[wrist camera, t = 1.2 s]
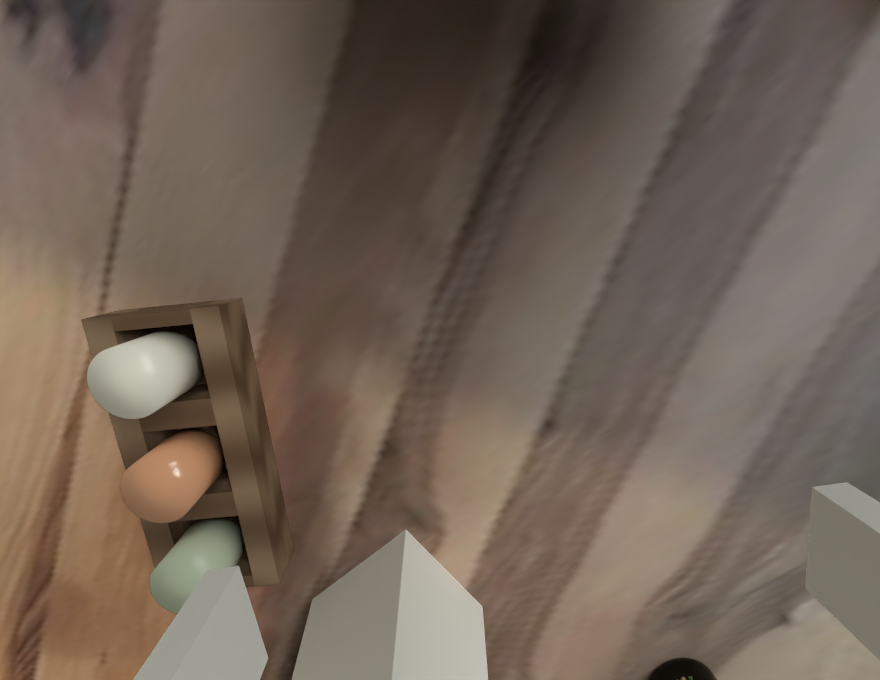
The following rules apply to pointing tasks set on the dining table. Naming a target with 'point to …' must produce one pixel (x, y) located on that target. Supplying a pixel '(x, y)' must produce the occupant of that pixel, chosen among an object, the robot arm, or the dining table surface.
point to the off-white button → (144, 373)
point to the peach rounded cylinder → (173, 475)
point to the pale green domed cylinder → (195, 560)
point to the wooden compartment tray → (216, 403)
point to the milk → (394, 622)
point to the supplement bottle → (683, 671)
